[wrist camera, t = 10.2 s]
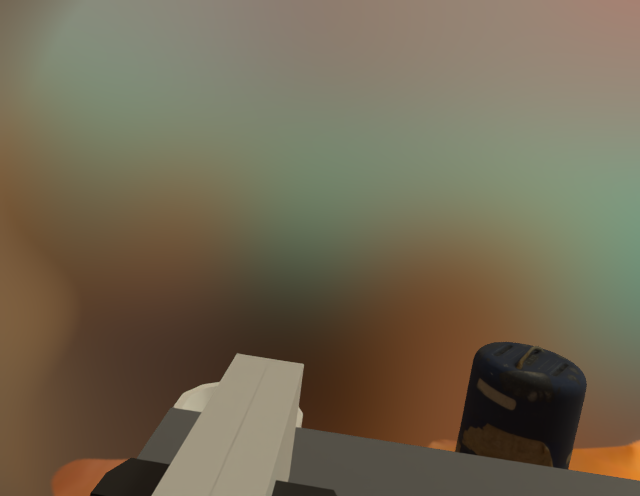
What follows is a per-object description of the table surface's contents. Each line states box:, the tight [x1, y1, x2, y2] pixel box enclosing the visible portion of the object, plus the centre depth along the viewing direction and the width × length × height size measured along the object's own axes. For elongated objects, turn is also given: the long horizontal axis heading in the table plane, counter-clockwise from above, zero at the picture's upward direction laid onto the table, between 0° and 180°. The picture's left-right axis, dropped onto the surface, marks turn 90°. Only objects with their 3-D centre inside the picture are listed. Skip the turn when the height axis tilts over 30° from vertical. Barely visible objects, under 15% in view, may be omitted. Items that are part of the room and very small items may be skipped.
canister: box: [455, 342, 587, 470], centre depth 53 cm, size 10×10×18 cm
